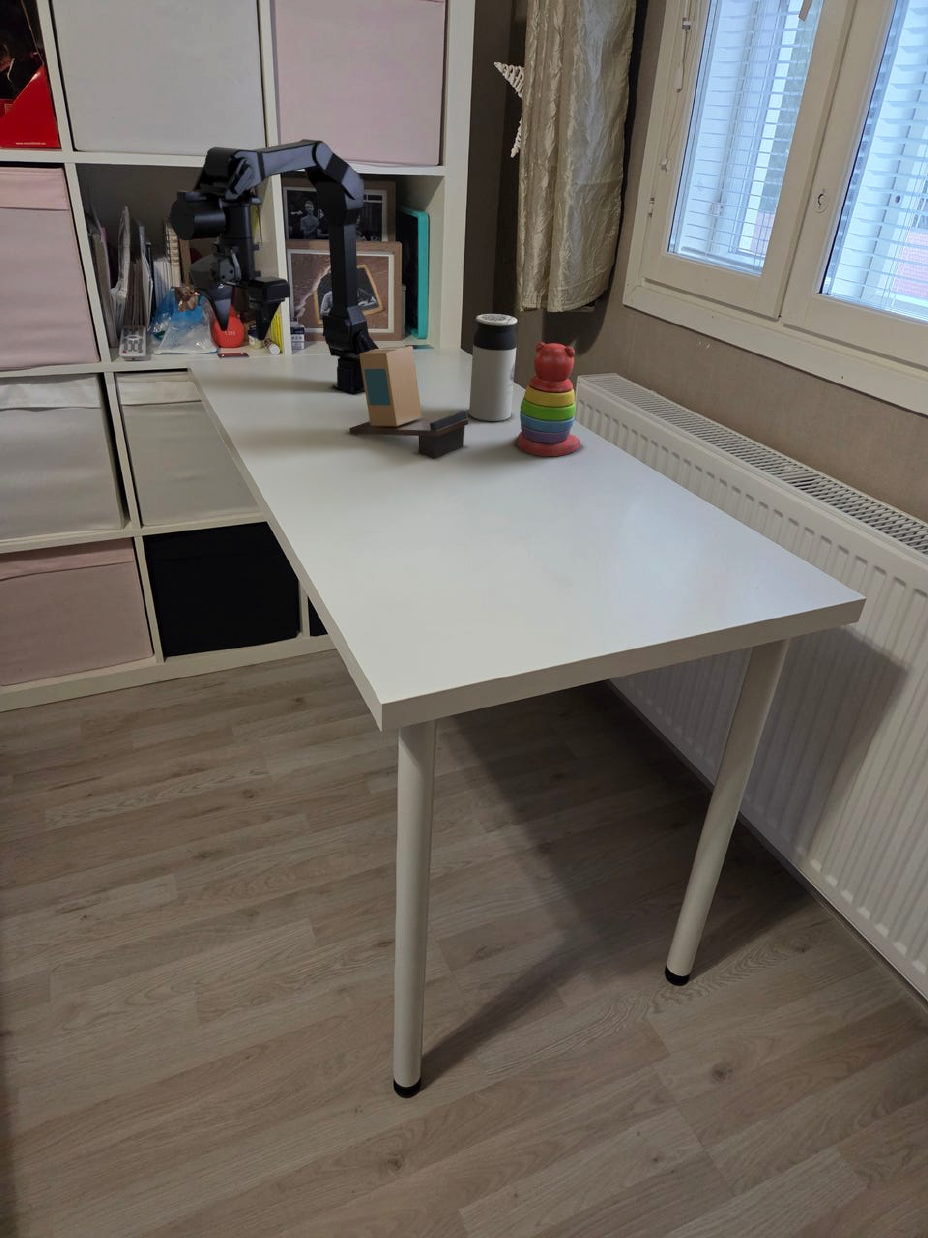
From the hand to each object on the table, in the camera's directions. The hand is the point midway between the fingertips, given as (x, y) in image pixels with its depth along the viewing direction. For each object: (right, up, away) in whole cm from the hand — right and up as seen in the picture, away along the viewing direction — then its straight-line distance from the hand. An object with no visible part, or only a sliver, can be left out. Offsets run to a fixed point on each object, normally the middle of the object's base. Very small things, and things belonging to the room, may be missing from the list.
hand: (242, 335), depth 145 cm
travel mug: (+43, -10, +17) cm, 47 cm away
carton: (+25, -14, +3) cm, 29 cm away
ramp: (+28, -17, +3) cm, 33 cm away
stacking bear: (+52, -19, +4) cm, 55 cm away
